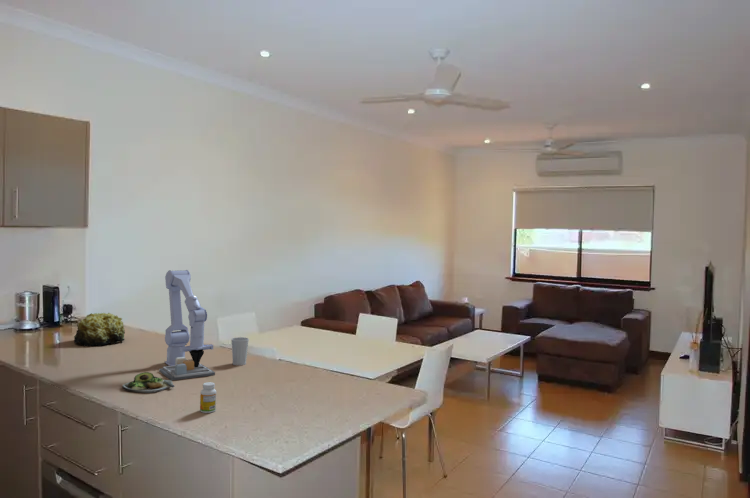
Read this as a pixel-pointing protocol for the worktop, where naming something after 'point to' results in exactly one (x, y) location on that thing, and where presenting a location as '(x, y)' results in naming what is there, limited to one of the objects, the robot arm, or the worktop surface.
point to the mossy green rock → (99, 330)
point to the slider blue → (180, 369)
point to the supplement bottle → (208, 398)
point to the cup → (239, 350)
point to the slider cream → (179, 360)
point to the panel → (196, 372)
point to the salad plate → (147, 383)
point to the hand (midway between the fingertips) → (196, 366)
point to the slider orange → (189, 364)
